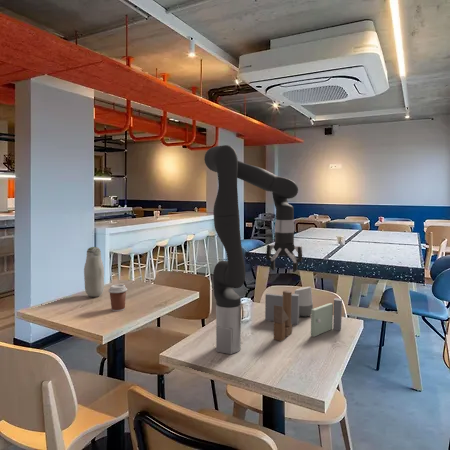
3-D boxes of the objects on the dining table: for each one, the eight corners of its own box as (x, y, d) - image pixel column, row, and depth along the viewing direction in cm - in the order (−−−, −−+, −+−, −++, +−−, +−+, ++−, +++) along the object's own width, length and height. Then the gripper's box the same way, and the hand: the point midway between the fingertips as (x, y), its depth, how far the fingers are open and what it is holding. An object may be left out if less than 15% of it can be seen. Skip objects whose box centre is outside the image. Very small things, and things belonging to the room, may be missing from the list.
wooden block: (273, 339, 154) (273, 295, 153) (284, 331, 163) (284, 289, 162) (281, 341, 152) (282, 297, 151) (292, 333, 161) (293, 290, 160)
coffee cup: (130, 306, 197) (129, 283, 196) (123, 312, 188) (123, 288, 187) (113, 306, 198) (112, 283, 197) (105, 311, 189) (105, 287, 188)
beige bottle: (81, 298, 213) (79, 247, 210) (93, 293, 223) (91, 245, 220) (97, 299, 210) (95, 248, 208) (107, 294, 220) (106, 246, 217)
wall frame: (340, 330, 164) (341, 300, 163) (264, 320, 177) (265, 292, 176) (341, 328, 167) (342, 298, 166) (266, 318, 180) (267, 291, 178)
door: (335, 329, 165) (336, 304, 164) (317, 337, 156) (317, 311, 155) (329, 327, 167) (329, 302, 166) (310, 335, 158) (311, 309, 157)
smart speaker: (298, 310, 191) (299, 282, 190) (316, 314, 185) (316, 285, 184) (289, 315, 184) (289, 286, 183) (306, 319, 178) (307, 289, 177)
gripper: (264, 231, 153) (264, 271, 155) (300, 232, 148) (299, 274, 149) (269, 229, 160) (269, 267, 162) (304, 230, 155) (303, 270, 156)
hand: (283, 270), depth 155 cm, fingers open, 8 cm apart
